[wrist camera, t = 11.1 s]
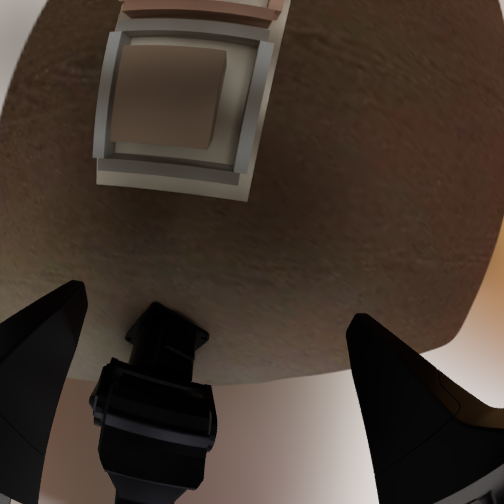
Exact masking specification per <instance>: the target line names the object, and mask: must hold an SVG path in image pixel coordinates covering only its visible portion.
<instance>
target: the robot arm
mask: <svg viewBox="0 0 504 504" xmlns="http://www.w3.org/2000/svg"><path fill="white" fill-rule="evenodd" d="M154 307H156V308H157V309H155V308H154ZM87 308H88V300H87V295H86V290H85V285H84V283H83V282H82V281H77V280H71V281H69V282H67V283H66V284H64V285H62V286H60V287H59V288H57V289H55V290H54V291H52V292H50V293H48V294H47V295H45V296H43V297H42V298H40V299H38V300H37V301H35V302H33V303H32V304H30V305H29V306H27V307H25V308H24V309H22V310H20V311H19V312H17V313H16V314H14V315H13V316H11V317H9V318H8V319H6V320H5V321H3V322H2V323H0V504H10V502H11V499H13V500H15V501H17V502H20V503H22V504H38V499H39V490H40V483H41V477H42V471H43V465H44V459H45V457H44V456H45V454H46V448H47V444H48V440H49V435H50V431H51V427H52V423H53V419H54V416H55V412H56V408H57V405H58V401H59V398H60V395H61V391H62V388H63V385H64V382H65V379H66V376H67V373H68V370H69V367H70V364H71V362H72V359H73V356H74V353H75V350H76V347H77V344H78V340H79V336H80V333H81V329H82V325H83V322H84V318H85V315H86V312H87ZM203 336H205V337H203ZM125 340H126V341H128V342H129V343H131V344H133V348H132V352H131V355H130V359H129V363H125V362H122V361H119V360H118V359H116V358H113V357H112V359H111V361H110V364H107V366H104V367H103V369H102V372H101V375H100V378H99V381H98V383H97V385H96V387H95V389H94V391H93V392H92V394H91V396H90V399H89V404H90V406H91V408H92V409H93V416H94V425H97V426H99V427H101V433H100V439H99V446H98V452H99V456H100V461H101V463H102V466H103V468H104V470H105V472H107V473H108V475H109V476H110V479H111V480H112V483H113V484H114V486H115V488H116V494H115V504H174V502H175V501H176V500H177V499H178V498H179V497H180V496H181V495H182V494H183V493H184V492H185V491H186V490H187V489H188V490H196V489H197V488H198V486H199V485H200V484H201V482H202V481H203V479H204V467H205V458H206V453H207V452H209V451H210V450H211V449H212V447H213V445H214V442H215V438H216V433H217V415H216V410H215V404H214V399H213V393H212V387H211V385H207V384H204V385H203V384H199V383H194V382H191V381H192V375H193V362H194V360H195V351H196V350H197V349H198V348H200V347H201V346H202V345H203V344H204V343H206V342H207V341H208V340H209V334H208V333H207V332H206V331H204V330H202V329H200V328H199V327H197V326H195V325H193V324H192V323H190V322H188V321H187V320H185V319H183V318H182V317H180V316H178V315H177V314H175V313H173V312H172V311H170V310H168V309H167V308H165V307H164V306H162V305H160V304H159V303H152V304H151V305H150V306H149V308H148V309H147V310H146V311H145V312H144V313H143V315H142V316H141V317H140V318H139V319H138V320H137V322H136V323H135V324H134V325H133V326H132V328H131V329H130V330H129V331H128V332H127V334H126V336H125ZM346 340H347V346H348V352H349V358H350V365H351V370H352V376H353V380H354V384H355V388H356V392H357V396H358V400H359V404H360V408H361V412H362V417H363V421H364V425H365V430H366V435H367V439H368V444H369V448H370V454H371V459H372V464H373V469H374V474H375V481H376V487H377V492H378V499H379V504H504V408H503V409H502V408H501V409H500V408H493V407H490V406H488V405H486V404H484V403H483V402H481V401H480V400H479V399H477V398H476V397H474V396H473V395H472V394H470V393H468V392H467V391H466V390H464V389H463V388H461V387H460V386H459V385H457V384H456V383H454V382H453V381H452V380H451V379H449V378H448V377H447V376H446V375H444V374H443V373H442V372H441V371H439V370H437V369H436V367H434V366H433V365H432V364H431V363H429V362H428V361H427V360H426V359H424V358H423V357H422V356H421V355H419V354H418V353H417V352H416V351H414V350H413V349H412V348H411V347H409V346H408V345H407V344H405V343H404V342H403V341H402V340H400V339H399V338H398V337H397V336H395V335H394V334H393V333H391V332H390V331H389V330H388V329H386V328H385V327H384V326H382V325H381V324H380V323H379V322H377V321H376V320H375V319H373V318H372V317H371V316H370V315H368V314H366V313H357V314H356V315H355V316H354V317H353V319H352V321H351V323H350V325H349V327H348V329H347V331H346Z"/></svg>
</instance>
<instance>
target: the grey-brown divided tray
mask: <svg viewBox="0 0 504 504" xmlns="http://www.w3.org/2000/svg"><path fill="white" fill-rule="evenodd" d="M290 1H291V0H119V2H121V3H122V7H121V11H120V14H119V18H118V21H117V25H116V29H115V32H110V34H109V38H108V43H107V47H106V52H105V57H104V62H103V67H102V73H101V79H100V85H99V92H98V100H97V108H96V118H95V129H94V143H93V158H97V184H100V185H112V186H123V187H134V188H143V189H153V190H162V191H170V192H179V193H187V194H195V195H202V196H210V197H217V198H224V199H231V200H238V201H245V202H247V201H248V196H249V191H250V186H251V181H252V176H253V171H254V166H255V161H256V156H257V151H258V147H259V142H260V137H261V132H262V127H263V123H264V118H265V113H266V109H267V104H268V99H269V95H270V90H271V85H272V81H273V76H274V72H275V67H276V63H277V58H278V54H279V49H280V45H281V40H282V36H283V32H284V27H285V23H286V18H287V14H288V10H289V6H290Z"/></svg>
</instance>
